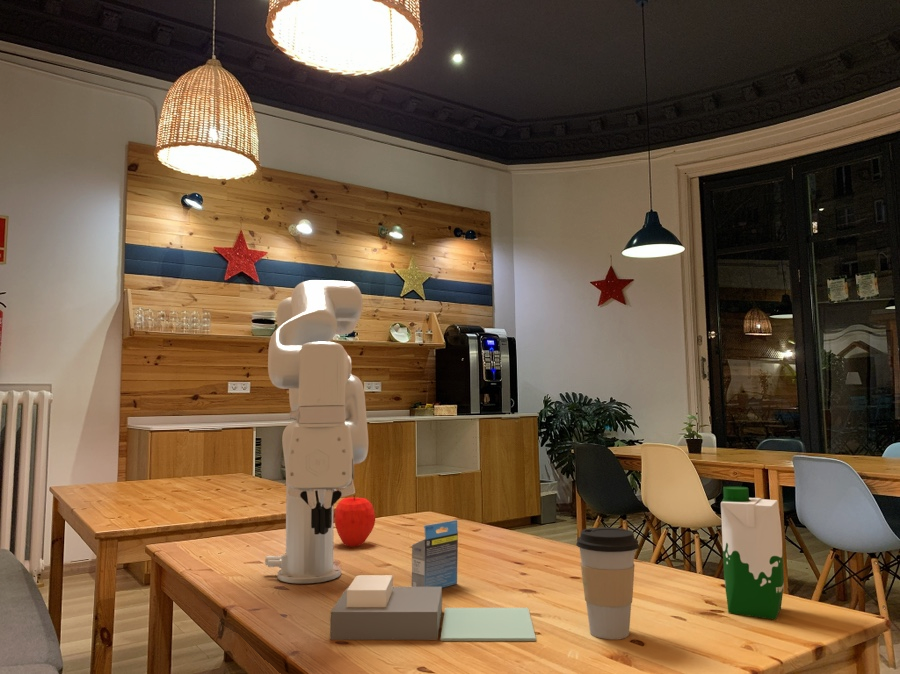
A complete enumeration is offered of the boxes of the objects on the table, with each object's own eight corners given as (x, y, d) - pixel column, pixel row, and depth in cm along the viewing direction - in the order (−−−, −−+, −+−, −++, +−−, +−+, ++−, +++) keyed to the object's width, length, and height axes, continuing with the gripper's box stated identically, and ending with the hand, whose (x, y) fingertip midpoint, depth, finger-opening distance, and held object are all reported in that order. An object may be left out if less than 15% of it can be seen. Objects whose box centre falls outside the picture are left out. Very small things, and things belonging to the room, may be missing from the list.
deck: (330, 639, 103) (330, 612, 104) (347, 611, 117) (347, 586, 118) (437, 639, 103) (437, 611, 103) (441, 611, 117) (441, 586, 117)
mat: (440, 640, 102) (440, 638, 102) (445, 610, 117) (445, 607, 117) (535, 641, 102) (535, 638, 102) (528, 610, 117) (528, 607, 117)
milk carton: (731, 600, 121) (725, 484, 123) (788, 608, 116) (782, 487, 118) (721, 613, 114) (715, 489, 115) (782, 622, 109) (775, 493, 111)
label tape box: (444, 580, 136) (443, 517, 137) (459, 584, 134) (458, 519, 135) (410, 590, 130) (410, 523, 131) (425, 594, 127) (425, 525, 128)
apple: (383, 543, 172) (383, 493, 173) (357, 551, 164) (357, 498, 165) (352, 539, 177) (352, 491, 178) (325, 547, 169) (326, 496, 170)
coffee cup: (571, 624, 109) (569, 527, 111) (629, 622, 110) (626, 525, 111) (588, 645, 100) (585, 538, 101) (652, 642, 101) (648, 537, 102)
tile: (346, 607, 106) (346, 590, 106) (356, 590, 115) (356, 575, 115) (385, 607, 106) (385, 590, 106) (392, 590, 115) (392, 575, 115)
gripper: (269, 418, 110) (268, 537, 108) (363, 417, 109) (364, 536, 107) (282, 418, 117) (281, 529, 115) (370, 417, 117) (371, 528, 115)
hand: (321, 532), depth 111 cm, fingers closed
